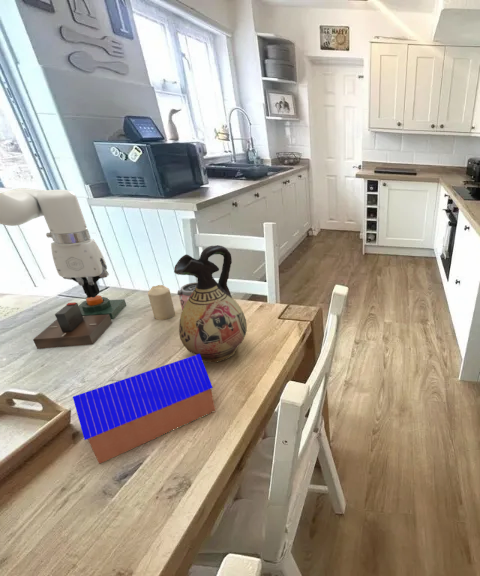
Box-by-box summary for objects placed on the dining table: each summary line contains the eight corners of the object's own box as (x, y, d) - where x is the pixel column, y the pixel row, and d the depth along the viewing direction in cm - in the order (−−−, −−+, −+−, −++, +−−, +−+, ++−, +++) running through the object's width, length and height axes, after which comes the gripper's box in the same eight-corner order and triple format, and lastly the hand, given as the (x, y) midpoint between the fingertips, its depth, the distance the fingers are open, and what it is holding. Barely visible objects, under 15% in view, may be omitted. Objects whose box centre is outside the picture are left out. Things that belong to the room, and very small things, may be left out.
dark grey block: (71, 331, 86) (63, 312, 83) (62, 332, 85) (54, 313, 83) (84, 319, 91) (77, 301, 88) (75, 320, 90) (68, 302, 88)
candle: (166, 321, 98) (158, 291, 94) (150, 318, 99) (141, 289, 95) (179, 312, 103) (172, 284, 99) (163, 310, 104) (156, 281, 100)
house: (217, 411, 69) (208, 368, 64) (97, 466, 57) (74, 418, 52) (200, 380, 77) (191, 340, 72) (91, 422, 65) (71, 377, 60)
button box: (69, 322, 94) (64, 310, 93) (85, 307, 102) (81, 296, 100) (113, 319, 97) (109, 308, 96) (126, 305, 105) (123, 294, 103)
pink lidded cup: (181, 318, 100) (172, 283, 95) (210, 311, 105) (204, 277, 100) (188, 332, 94) (180, 295, 89) (219, 323, 99) (213, 288, 94)
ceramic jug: (199, 380, 77) (172, 264, 64) (177, 350, 86) (150, 243, 73) (265, 352, 88) (254, 248, 76) (240, 328, 98) (226, 232, 85)
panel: (37, 349, 83) (32, 339, 82) (62, 326, 93) (58, 316, 91) (92, 344, 86) (89, 334, 85) (112, 322, 96) (109, 313, 94)
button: (85, 306, 96) (83, 301, 95) (91, 300, 99) (89, 295, 99) (99, 305, 97) (97, 300, 96) (105, 300, 100) (103, 295, 99)
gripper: (28, 241, 84) (55, 303, 92) (97, 240, 88) (117, 299, 96) (47, 233, 90) (70, 291, 98) (110, 232, 94) (127, 288, 102)
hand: (93, 295), depth 97 cm, fingers closed
